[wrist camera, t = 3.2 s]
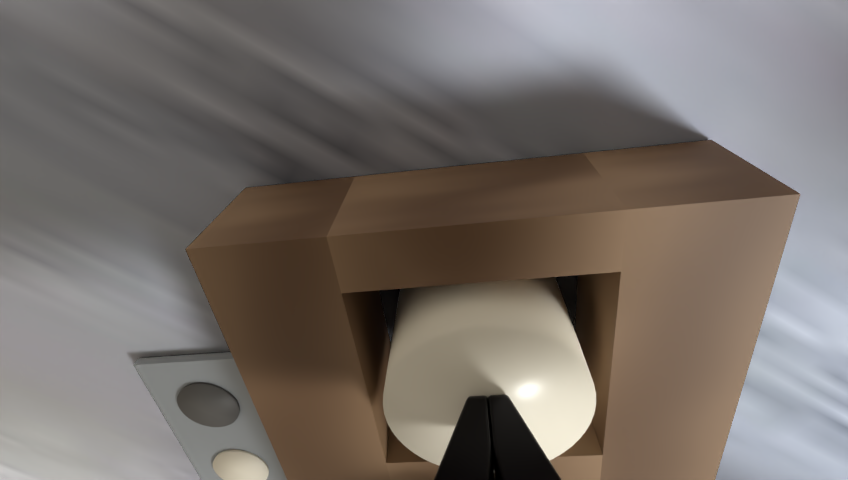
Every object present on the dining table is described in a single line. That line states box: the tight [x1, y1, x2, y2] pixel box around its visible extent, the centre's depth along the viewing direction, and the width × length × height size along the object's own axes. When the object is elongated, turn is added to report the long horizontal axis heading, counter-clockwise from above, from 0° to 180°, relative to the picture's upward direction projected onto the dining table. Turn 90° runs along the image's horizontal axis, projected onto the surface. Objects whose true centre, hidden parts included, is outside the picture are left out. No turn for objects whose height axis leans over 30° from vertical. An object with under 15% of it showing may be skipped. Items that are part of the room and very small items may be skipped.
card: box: [134, 352, 287, 480], centre depth 17 cm, size 4×10×1 cm, turn 7°
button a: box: [383, 277, 596, 466], centre depth 11 cm, size 4×4×3 cm
